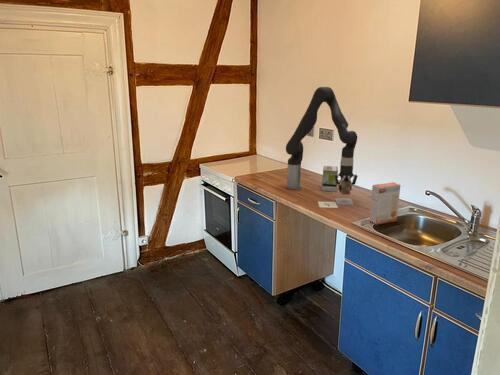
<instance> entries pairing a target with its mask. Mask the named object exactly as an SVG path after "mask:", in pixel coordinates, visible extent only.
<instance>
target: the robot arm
mask: <svg viewBox="0 0 500 375" xmlns="http://www.w3.org/2000/svg"><path fill="white" fill-rule="evenodd" d="M335 94H336V93H335V92H334V90H333V89H332V88H331V87H329V86H319V87H318V88H316V89H315V91H314V93H313V94H312V97H311V100H310V102H309V105H308V107H307V108H306V111H305V112H304V114H303V116H302V118H301V119H300V121H299V123H298V125H297V127H296V128H295V131H294V133H293V134H292V135H291V137H290V138H289V140H288V141H287V143H286V145H285V151H286V154H287V155H290V158H288V159H287V174H286V175H287V176H286V188H287V189H289V190H298V189H300V188H301V176H302V175H301V173H302V172H301V171H302V161H303V156H304V145H303V142H302V140H303V139H305V137H306V136H308V134H309V133H310V132H311V131H312V130H313V128H314V127H315V125H316V123H317V120H318V111H319V109H320V107H321V106H322V104H323V103H326V104H327V105H328V107H329V110H330V114H331V120H332V122H333V124H334V126H335V127H336V129H337V133H338V136H339V140H340V141H341V143H343V144H345V146H343V147H342V149H341V158H340V166H339V172H338V174H337V175H336V174H335V180H336V184H337V186H338V190H339V192H340V191H341V184H342V181H345V180H347V181H350V182H351V187H350V191H352V190H353V187H352V186H353V185H356V183H357V179H358V175H357V174H354V173H353V172H354V155H355V153H354V152H355V149H356V145H357V142H358V135H357V133H356V131H354V130H348V127H349V123H348V121H347V119H346V117H345V116H344V114H343V113H342V111H341V108H340V105H339V103H338V101H337V97H336V95H335ZM339 178H340V179H339ZM352 178H353V179H352ZM351 179H352V180H351Z"/></svg>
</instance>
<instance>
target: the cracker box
mask: <svg viewBox="0 0 500 375" xmlns="http://www.w3.org/2000/svg"><path fill="white" fill-rule="evenodd" d="M371 190H372V192H371V198H370V199H371V201H370V212H369V222H370V221H371V222H370V223H372V222H373V223H372V224H374V225H382V224H387V223H394V222H397V220H398V212H399V202H400V191H401V184H399V183H396V182H393V181H392V182H386V183H380V184H379V183H378V184H373V185H372V189H371Z"/></svg>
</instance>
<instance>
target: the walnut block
mask: <svg viewBox="0 0 500 375" xmlns="http://www.w3.org/2000/svg"><path fill="white" fill-rule="evenodd" d="M351 182H352V181H351ZM351 182H350V181H347V180H345V181H342V184H341V191H340V190H339V193H340V194H341V195H344V196H345V195H347V196H348V195H350V194H351V190H350V187H351Z"/></svg>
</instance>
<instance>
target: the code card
mask: <svg viewBox="0 0 500 375" xmlns="http://www.w3.org/2000/svg"><path fill="white" fill-rule="evenodd" d="M317 204H318V207H319V208H331V209H332V208H333V209H334V208H335V209H336V208H339V206H338V204H337V203H336V201H317Z"/></svg>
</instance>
